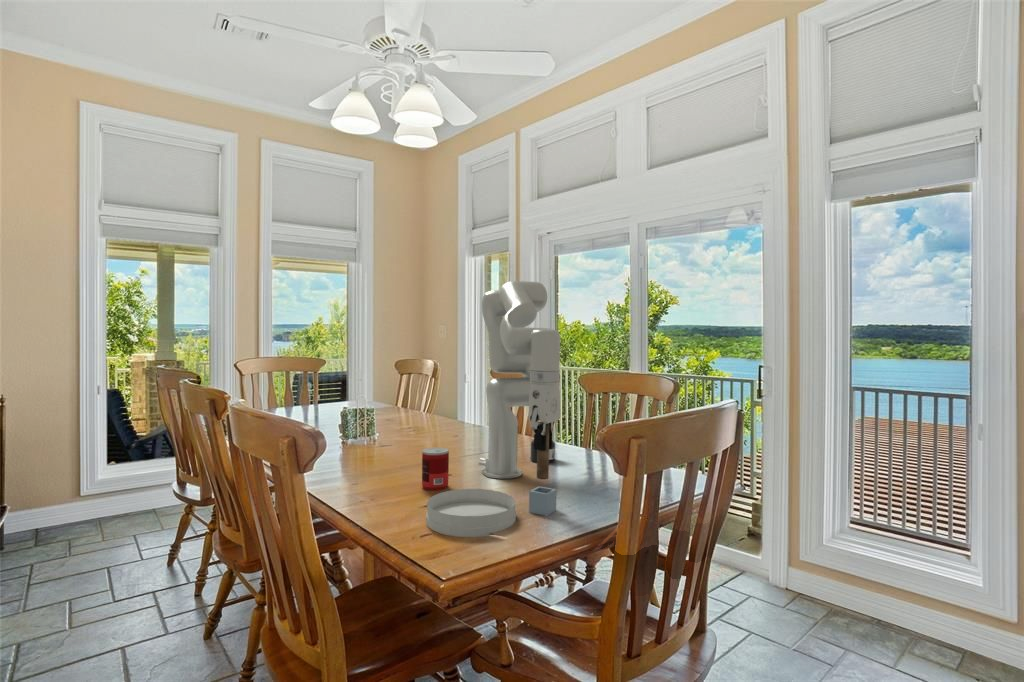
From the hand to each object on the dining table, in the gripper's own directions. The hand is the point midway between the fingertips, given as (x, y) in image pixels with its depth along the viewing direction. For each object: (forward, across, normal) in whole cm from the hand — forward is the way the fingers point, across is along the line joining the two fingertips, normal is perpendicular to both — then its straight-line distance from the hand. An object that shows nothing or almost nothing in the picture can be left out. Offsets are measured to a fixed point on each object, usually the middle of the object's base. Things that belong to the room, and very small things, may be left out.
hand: (543, 447), depth 141 cm
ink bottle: (+18, +51, +24) cm, 60 cm away
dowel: (+8, 0, 0) cm, 8 cm away
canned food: (+18, +4, +37) cm, 42 cm away
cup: (+17, -1, -1) cm, 17 cm away
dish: (+17, -14, +12) cm, 26 cm away
